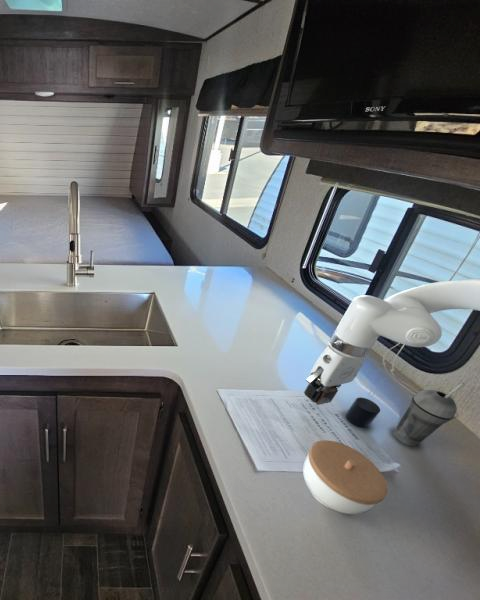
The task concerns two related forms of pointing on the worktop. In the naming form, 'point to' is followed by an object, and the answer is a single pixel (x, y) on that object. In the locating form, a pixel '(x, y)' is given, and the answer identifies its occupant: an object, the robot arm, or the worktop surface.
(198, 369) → the worktop surface
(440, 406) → the beverage cup
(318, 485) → the lidded bowl
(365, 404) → the black cylinder
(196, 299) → the worktop surface
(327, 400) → the walnut block
